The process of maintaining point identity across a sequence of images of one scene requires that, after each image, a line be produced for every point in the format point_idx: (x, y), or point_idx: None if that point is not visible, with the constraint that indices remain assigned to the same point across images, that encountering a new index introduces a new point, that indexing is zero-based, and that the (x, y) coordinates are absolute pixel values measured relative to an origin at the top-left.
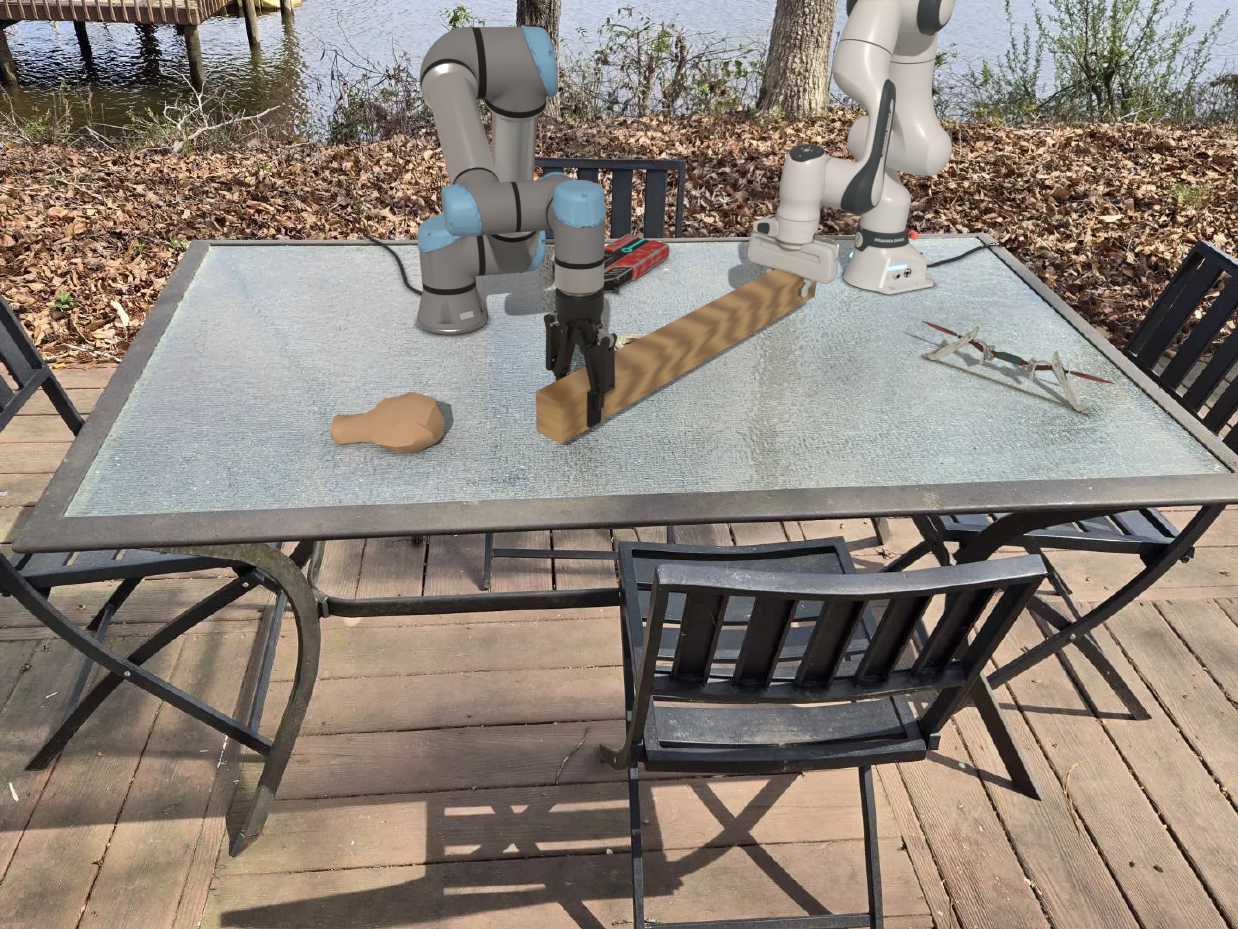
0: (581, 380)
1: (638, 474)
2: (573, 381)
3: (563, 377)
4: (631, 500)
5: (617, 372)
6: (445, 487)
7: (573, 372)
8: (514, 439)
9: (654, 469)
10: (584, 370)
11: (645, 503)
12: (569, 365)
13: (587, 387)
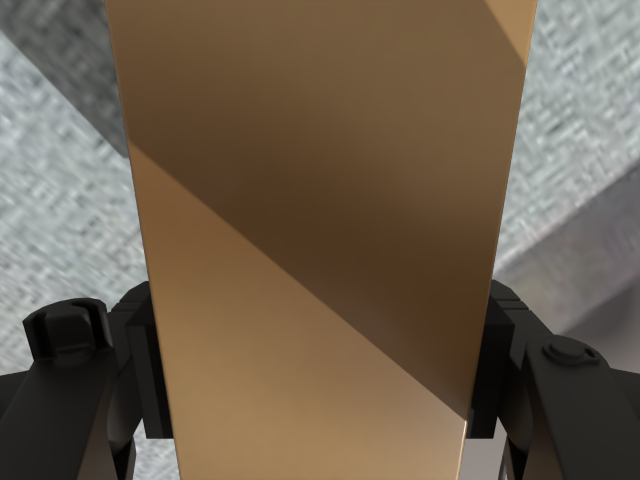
0: (327, 390)
1: (522, 126)
2: (286, 436)
3: (176, 442)
4: (570, 247)
5: (531, 4)
6: (165, 476)
7: (162, 335)
8: (84, 240)
9: (555, 62)
10: (202, 237)
11: (613, 233)
12: (101, 416)
13: (447, 437)
